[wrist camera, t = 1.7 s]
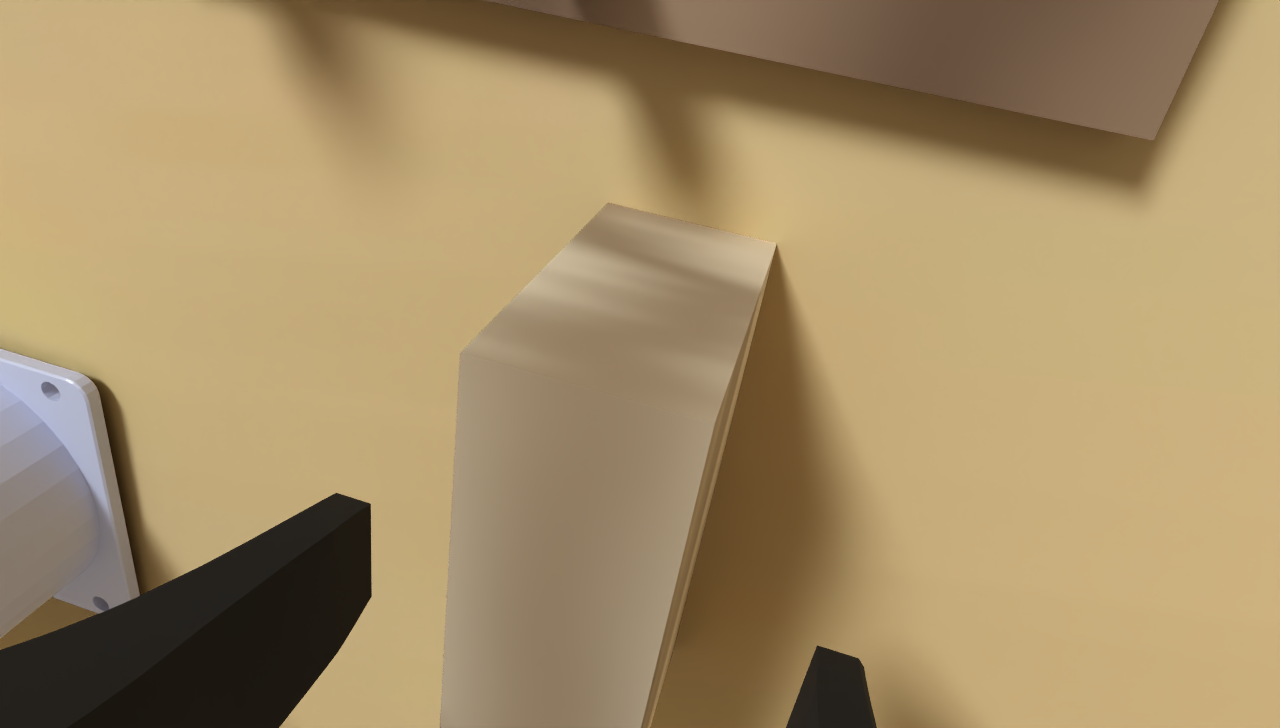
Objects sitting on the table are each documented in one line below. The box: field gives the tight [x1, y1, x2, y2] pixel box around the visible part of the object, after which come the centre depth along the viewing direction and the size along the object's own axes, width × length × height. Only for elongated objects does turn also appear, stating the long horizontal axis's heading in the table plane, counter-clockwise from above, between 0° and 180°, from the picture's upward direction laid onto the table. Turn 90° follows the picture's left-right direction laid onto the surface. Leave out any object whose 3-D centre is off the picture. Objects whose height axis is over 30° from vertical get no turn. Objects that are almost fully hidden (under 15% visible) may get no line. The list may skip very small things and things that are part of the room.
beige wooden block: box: [440, 203, 777, 728], centre depth 14 cm, size 3×10×6 cm, turn 171°
